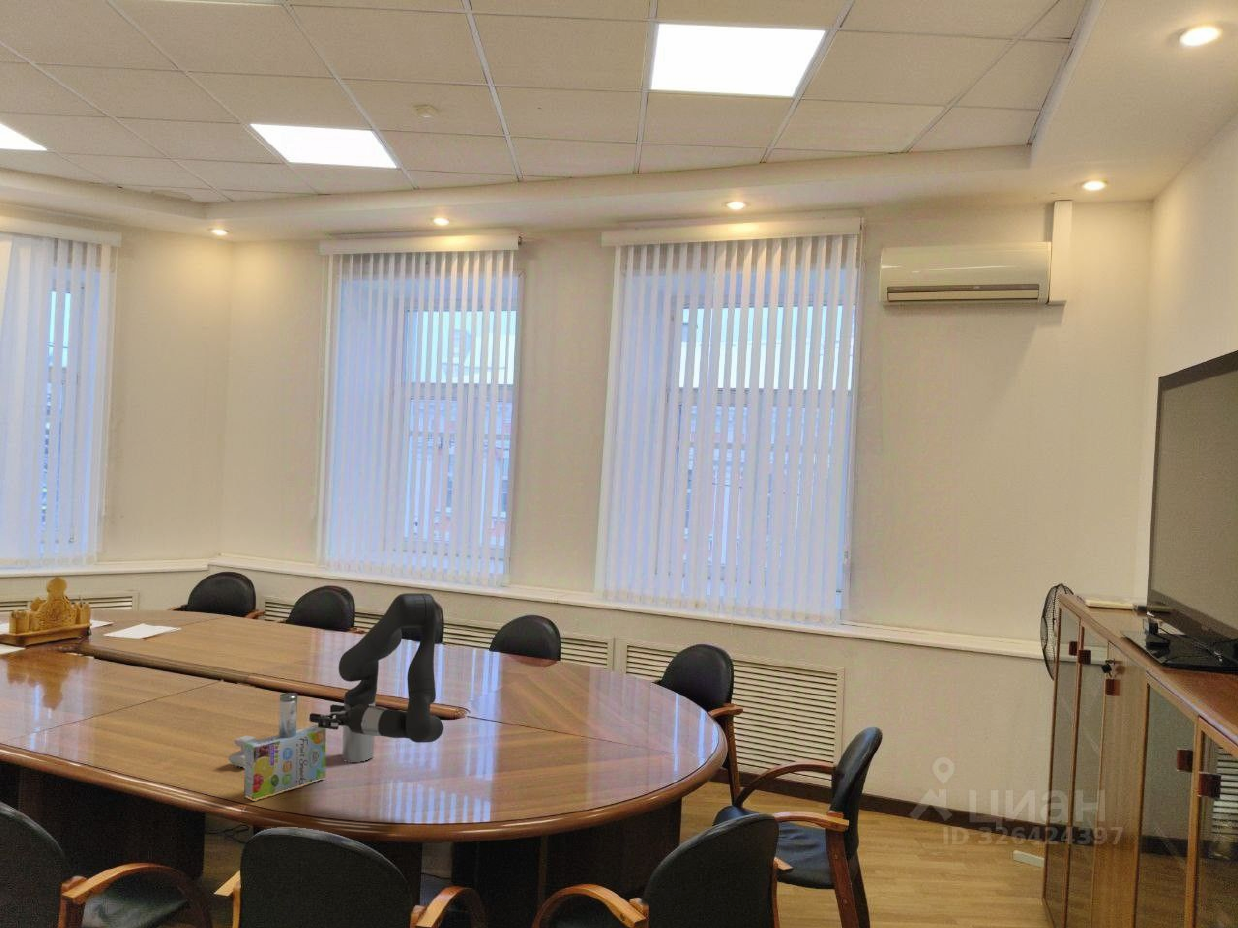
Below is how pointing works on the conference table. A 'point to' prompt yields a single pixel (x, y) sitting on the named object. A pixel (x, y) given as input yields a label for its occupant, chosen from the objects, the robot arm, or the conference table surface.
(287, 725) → the metal tin
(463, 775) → the conference table surface
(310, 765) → the snack box
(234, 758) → the white blocky piece
